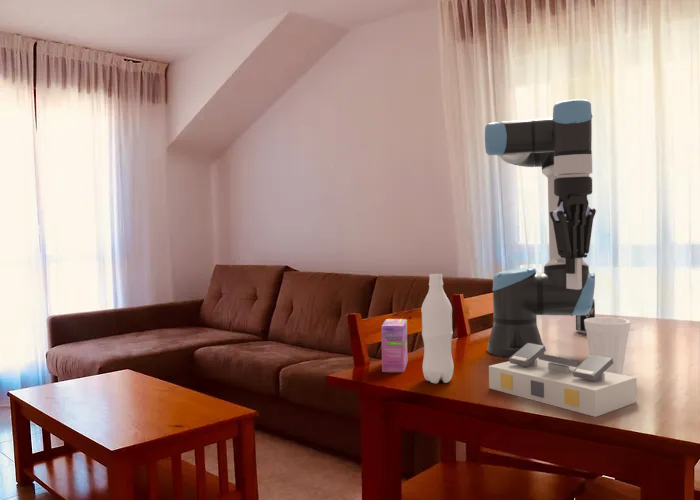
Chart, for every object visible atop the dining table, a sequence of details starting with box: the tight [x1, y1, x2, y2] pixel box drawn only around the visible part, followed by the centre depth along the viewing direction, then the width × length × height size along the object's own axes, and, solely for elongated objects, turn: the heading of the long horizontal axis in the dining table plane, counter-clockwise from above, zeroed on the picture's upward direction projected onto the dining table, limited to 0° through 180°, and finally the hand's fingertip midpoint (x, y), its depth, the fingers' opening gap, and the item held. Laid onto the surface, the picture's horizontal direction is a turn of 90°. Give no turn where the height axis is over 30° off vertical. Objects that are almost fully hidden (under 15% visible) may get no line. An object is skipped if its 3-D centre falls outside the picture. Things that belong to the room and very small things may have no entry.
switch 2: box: [538, 353, 579, 367], centre depth 128 cm, size 7×5×1 cm, turn 125°
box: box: [380, 318, 409, 373], centre depth 156 cm, size 10×6×12 cm, turn 170°
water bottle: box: [420, 273, 455, 384], centre depth 141 cm, size 7×7×25 cm
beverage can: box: [575, 298, 596, 334], centre depth 195 cm, size 6×6×12 cm
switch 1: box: [508, 343, 547, 367], centre depth 134 cm, size 7×5×1 cm, turn 125°
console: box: [488, 357, 637, 418], centre depth 128 cm, size 14×26×6 cm, turn 35°
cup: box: [584, 316, 631, 375], centre depth 141 cm, size 10×10×13 cm
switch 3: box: [572, 354, 613, 381], centre depth 121 cm, size 7×5×1 cm, turn 125°
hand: (574, 288), depth 128 cm, fingers closed
